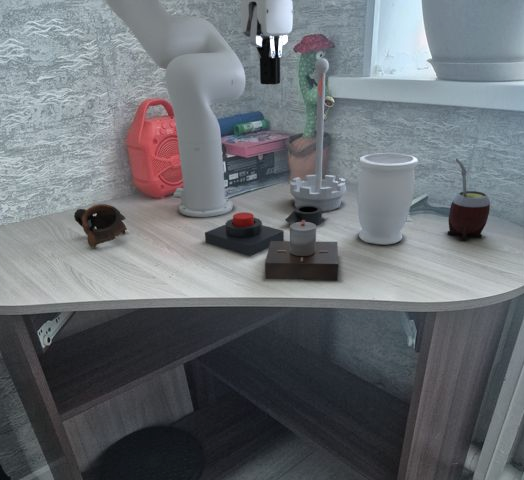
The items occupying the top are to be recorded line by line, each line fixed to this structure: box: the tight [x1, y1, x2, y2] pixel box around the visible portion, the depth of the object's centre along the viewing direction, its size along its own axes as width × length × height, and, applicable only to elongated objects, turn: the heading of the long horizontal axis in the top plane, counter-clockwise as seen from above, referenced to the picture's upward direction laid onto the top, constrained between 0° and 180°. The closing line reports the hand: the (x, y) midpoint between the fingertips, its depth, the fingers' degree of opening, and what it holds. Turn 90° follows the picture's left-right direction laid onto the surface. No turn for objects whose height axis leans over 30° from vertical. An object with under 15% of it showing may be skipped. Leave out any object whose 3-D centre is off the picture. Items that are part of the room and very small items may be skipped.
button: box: [232, 211, 255, 227], centre depth 93 cm, size 4×4×2 cm
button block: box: [204, 217, 285, 257], centre depth 95 cm, size 12×10×4 cm
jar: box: [356, 152, 419, 246], centre depth 91 cm, size 11×10×15 cm
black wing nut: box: [284, 205, 331, 227], centre depth 103 cm, size 8×10×3 cm
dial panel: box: [264, 240, 339, 282], centre depth 83 cm, size 12×10×3 cm
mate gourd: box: [447, 158, 491, 242], centre depth 90 cm, size 8×8×15 cm
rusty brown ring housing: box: [73, 203, 128, 249], centre depth 98 cm, size 12×10×8 cm
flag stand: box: [289, 57, 347, 211], centre depth 107 cm, size 13×13×30 cm
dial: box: [289, 220, 317, 256], centre depth 81 cm, size 4×4×5 cm
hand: (270, 83), depth 86 cm, fingers closed
